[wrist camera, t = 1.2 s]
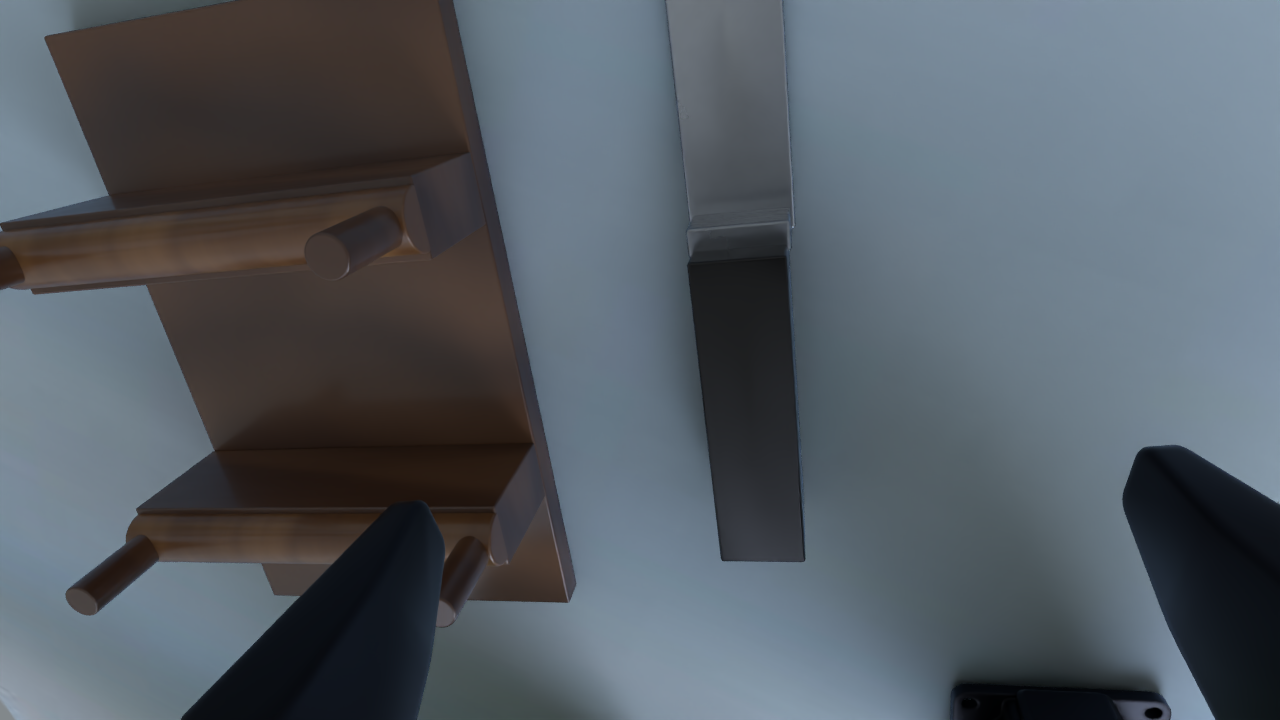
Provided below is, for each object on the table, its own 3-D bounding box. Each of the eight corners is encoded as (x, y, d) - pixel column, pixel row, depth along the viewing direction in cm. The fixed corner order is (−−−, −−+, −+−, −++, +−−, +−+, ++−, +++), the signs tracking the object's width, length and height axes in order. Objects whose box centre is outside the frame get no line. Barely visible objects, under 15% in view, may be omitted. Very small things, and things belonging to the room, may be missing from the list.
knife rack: (577, 584, 27) (505, 771, 20) (289, 578, 30) (141, 742, 23) (446, -33, 19) (259, -63, 12) (72, 35, 22) (-247, 41, 15)
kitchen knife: (810, 501, 24) (812, 563, 21) (722, 502, 24) (714, 562, 22) (767, -282, 16) (762, -343, 13) (640, -252, 17) (609, -304, 14)
